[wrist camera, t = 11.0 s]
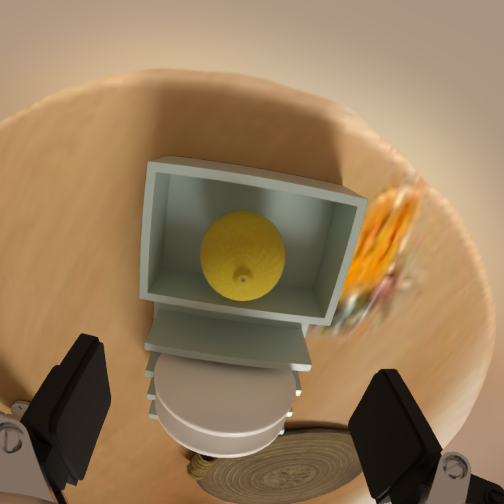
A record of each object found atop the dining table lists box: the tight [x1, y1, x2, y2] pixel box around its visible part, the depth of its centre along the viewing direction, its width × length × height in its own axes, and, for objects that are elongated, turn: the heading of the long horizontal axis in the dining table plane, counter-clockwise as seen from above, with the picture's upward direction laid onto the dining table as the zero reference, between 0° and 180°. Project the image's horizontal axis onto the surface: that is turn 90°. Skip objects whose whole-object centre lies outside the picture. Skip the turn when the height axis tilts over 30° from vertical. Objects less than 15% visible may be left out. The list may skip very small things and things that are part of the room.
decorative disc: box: [187, 428, 363, 504], centre depth 39 cm, size 29×3×30 cm
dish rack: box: [140, 155, 368, 458], centre depth 22 cm, size 14×24×12 cm, turn 170°
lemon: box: [200, 210, 285, 301], centre depth 20 cm, size 6×6×8 cm
